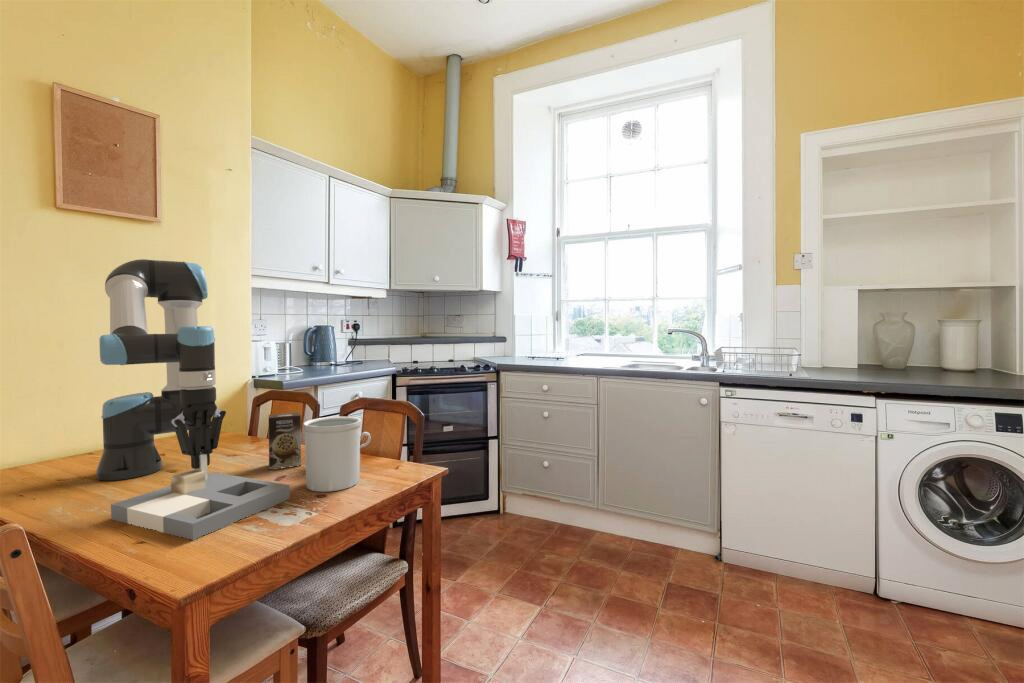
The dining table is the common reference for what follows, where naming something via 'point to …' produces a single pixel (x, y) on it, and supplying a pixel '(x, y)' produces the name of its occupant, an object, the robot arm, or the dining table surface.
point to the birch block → (187, 481)
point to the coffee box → (284, 440)
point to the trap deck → (200, 505)
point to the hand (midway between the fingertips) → (201, 479)
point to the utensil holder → (332, 453)
